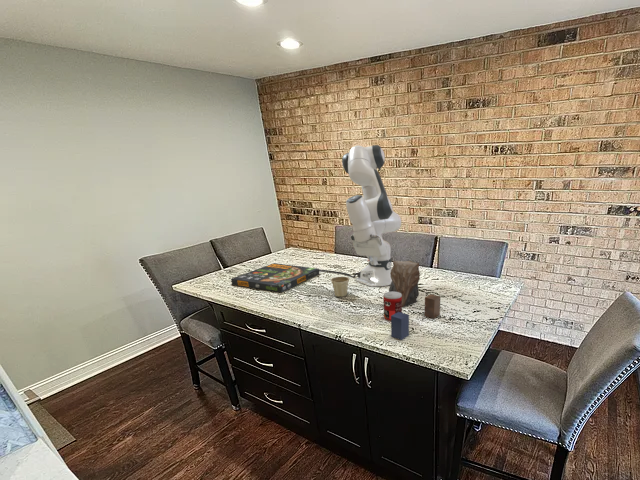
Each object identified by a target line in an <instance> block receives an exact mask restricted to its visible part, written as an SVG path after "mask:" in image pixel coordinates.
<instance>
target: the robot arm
mask: <svg viewBox="0 0 640 480" xmlns="http://www.w3.org/2000/svg"><path fill="white" fill-rule="evenodd" d="M385 154H386V153H385V152H384V150H383V148H382V146H380V145H378V144H374V145H373V144H372V145H371V146H362V145H354V146H352V147H351V148H350V150H349V152H346V153H344V155H342V157H341V163H342V168H343V170H344V171H345V173H346V174H348V176H349V179H350V180H351V181H352V182H353V183H354V184H356V185H357V186H360V187H361V190H362V194H356V195H353V196H350V197H349V198H348V199H346V200H345V205H346V210H347V211H346V212H347V215H348V218H349V222H350V223H351V225H352V230H353V233H352V234H350V236H349V239H350V241H352V246H353V249H354V251H355V253H356V254H357V255H358V256H363V257H365V256H366V258H367V262H368V264H367V265H366V266H365V267H363V268H362V269H361V270H360V271H359V272H356V273H354V274H353V275H351V274H349V273H347V272H341V271H336V270H328V269H319V268H318V269H319V272H328V273H335V274H341V275H346V276H347V277H350V278H356V280H355V281H356V282H358V283H361V284H364V285H366V286H368V287H372V288H373V287H385V286H390V285H391V282H392V279H391V277H390V276H391V274H390V273H391V269H392V264H393V262H392V256H391V255H392V253H391V244H390V243H389V242H388V241H387V240H385V239H383V234H384V235H385V234H390V233H393V232H396V231H399V230H400V228H401V226H402V218H401V216H400V215H399V213H397V212H395V211H394V209H393V204H392V202H391V200H390V198H389V197H388V193H387V191H386V187H385V185H384V183H383V180H382V178H381V174H380V173H379V172H381V169H382V168H383V166H384V165H385V160H386V155H385ZM356 276H357V277H356Z"/></svg>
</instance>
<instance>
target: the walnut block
mask: <svg viewBox="0 0 640 480" xmlns="http://www.w3.org/2000/svg"><path fill="white" fill-rule="evenodd" d="M439 316H441V296H440V295H436V294H432V293H430V294H429V295H426V296H425V297H424V317H426V318H429V319H433V320H435V319H436V318H438V317H439Z"/></svg>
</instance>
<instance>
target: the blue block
mask: <svg viewBox="0 0 640 480" xmlns="http://www.w3.org/2000/svg"><path fill="white" fill-rule="evenodd" d="M390 328H391V329H390V334H391V335H390V336H391V338H395V339H397V340H400V341H402V340H405V338H407V337H409V336H410V314H408V313H405V312H402V313H401V312H397V313H395V314H394V315H392V316H391V321H390Z"/></svg>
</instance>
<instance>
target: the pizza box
mask: <svg viewBox="0 0 640 480" xmlns="http://www.w3.org/2000/svg"><path fill="white" fill-rule="evenodd" d="M318 275H320V271H319V268H317V267H308V266H301V265H300V266H299V265H293V264H285V263H284V264H283V263H276V262H273V263H270V264H267V265H265V266H263V267H259V268H257V269H254V270H251V271H248V272H246V273H243V274H241V275H238V276H235V277H231V278H230V281H231V285H232V286H237V287H244V288H251V289H256V290H262V291H263V290H264V291H268V292H269V291H270V292H274V293H283V292H286V291H288V290H289V289H292V288H294V287H296V286H298V285H300V284H302V283H304V282H307V281H308V280H311V279H312V278H314V277H316V276H318Z"/></svg>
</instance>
